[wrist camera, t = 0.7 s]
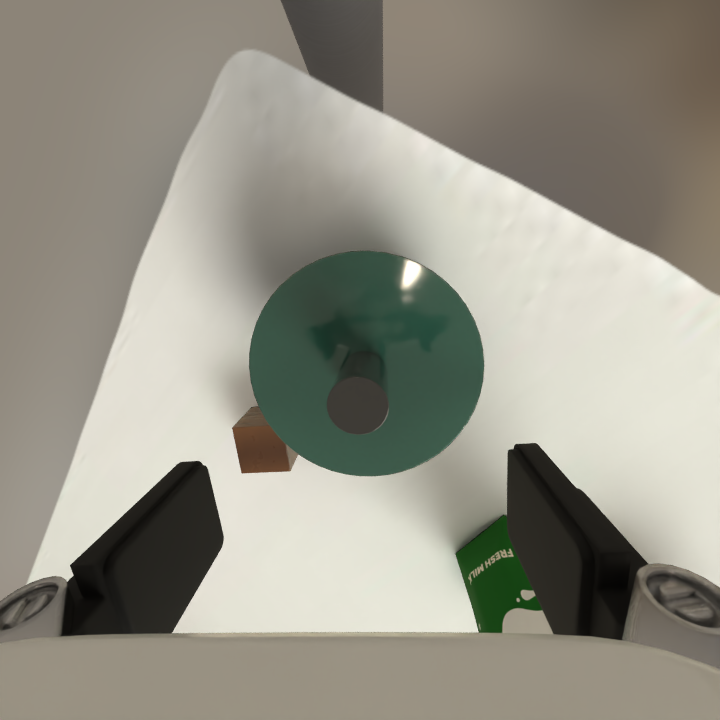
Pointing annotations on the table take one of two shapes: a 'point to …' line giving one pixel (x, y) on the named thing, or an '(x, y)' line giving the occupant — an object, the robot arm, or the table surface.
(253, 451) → the block
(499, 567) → the milk carton
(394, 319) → the lid
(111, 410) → the table surface
